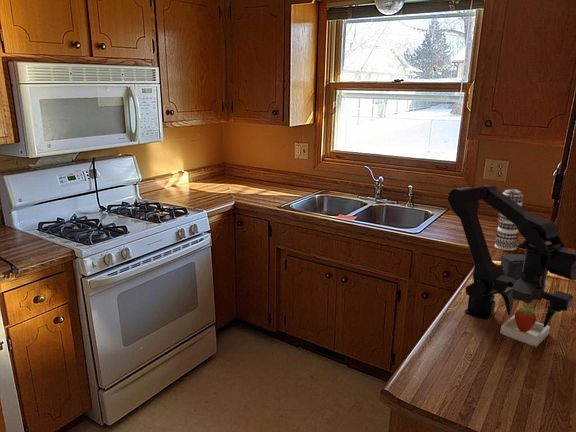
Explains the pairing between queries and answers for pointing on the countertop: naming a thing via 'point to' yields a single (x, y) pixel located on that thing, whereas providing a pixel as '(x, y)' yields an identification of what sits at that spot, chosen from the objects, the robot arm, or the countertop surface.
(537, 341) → the bin
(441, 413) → the countertop surface
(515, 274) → the box
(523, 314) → the fruit
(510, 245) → the decorative candle
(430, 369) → the countertop surface
